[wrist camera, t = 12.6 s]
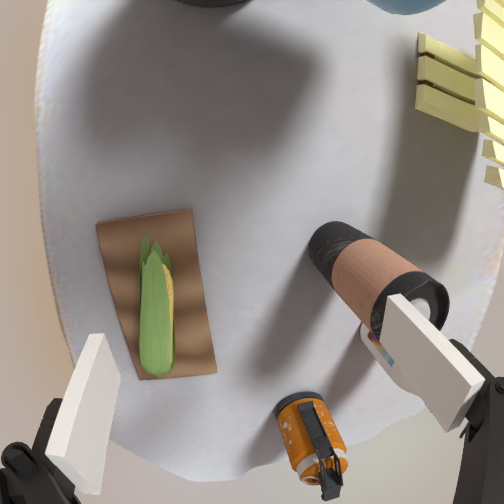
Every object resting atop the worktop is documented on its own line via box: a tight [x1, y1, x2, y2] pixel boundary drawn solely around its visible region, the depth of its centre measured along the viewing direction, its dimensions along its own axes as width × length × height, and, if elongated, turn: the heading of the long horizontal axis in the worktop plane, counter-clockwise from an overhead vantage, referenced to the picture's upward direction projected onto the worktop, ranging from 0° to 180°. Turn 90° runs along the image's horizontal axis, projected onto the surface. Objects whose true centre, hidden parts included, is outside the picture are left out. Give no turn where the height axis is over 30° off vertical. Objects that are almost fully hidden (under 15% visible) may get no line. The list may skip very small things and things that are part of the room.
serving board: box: [96, 208, 217, 380], centre depth 41 cm, size 24×12×1 cm, turn 4°
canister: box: [275, 392, 348, 501], centre depth 43 cm, size 9×11×20 cm
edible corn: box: [139, 233, 176, 377], centre depth 38 cm, size 5×20×5 cm
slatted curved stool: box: [415, 0, 504, 189], centre depth 29 cm, size 30×16×18 cm, turn 173°
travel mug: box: [309, 221, 450, 341], centre depth 33 cm, size 8×8×20 cm
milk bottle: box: [360, 323, 432, 413], centre depth 40 cm, size 8×8×20 cm
